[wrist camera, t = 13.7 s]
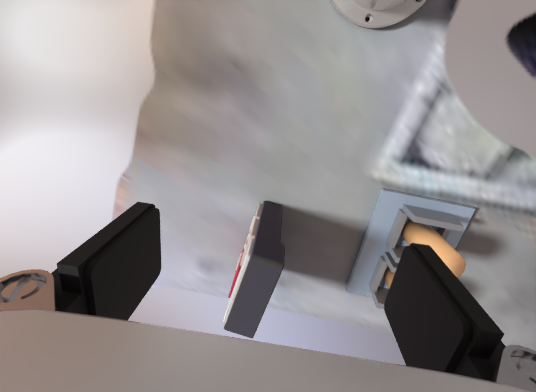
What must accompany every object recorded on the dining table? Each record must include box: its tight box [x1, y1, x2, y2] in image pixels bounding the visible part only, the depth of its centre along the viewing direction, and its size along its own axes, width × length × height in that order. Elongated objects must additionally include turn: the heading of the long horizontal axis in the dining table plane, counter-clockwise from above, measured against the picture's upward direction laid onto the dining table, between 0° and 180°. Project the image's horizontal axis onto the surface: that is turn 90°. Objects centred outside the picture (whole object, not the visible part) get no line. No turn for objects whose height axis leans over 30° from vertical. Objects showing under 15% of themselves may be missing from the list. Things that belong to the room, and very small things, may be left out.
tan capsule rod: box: [401, 220, 466, 278], centre depth 37 cm, size 4×4×9 cm
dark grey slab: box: [223, 201, 285, 338], centre depth 37 cm, size 11×4×15 cm, turn 161°
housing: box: [346, 188, 475, 309], centre depth 39 cm, size 18×13×10 cm
